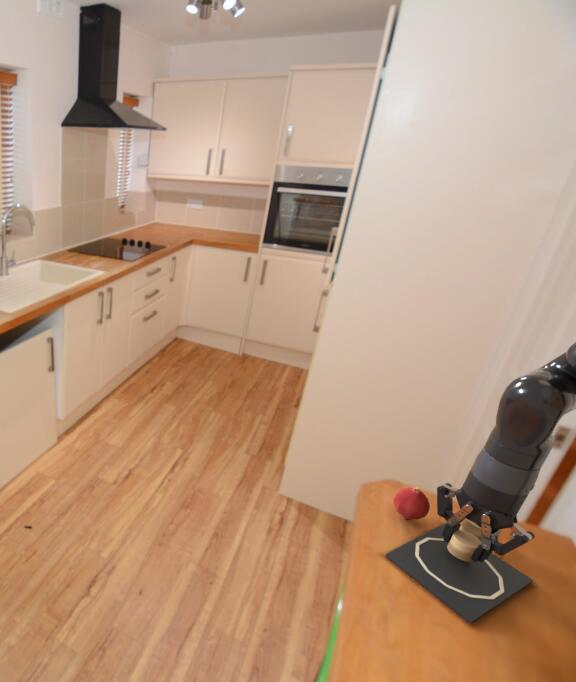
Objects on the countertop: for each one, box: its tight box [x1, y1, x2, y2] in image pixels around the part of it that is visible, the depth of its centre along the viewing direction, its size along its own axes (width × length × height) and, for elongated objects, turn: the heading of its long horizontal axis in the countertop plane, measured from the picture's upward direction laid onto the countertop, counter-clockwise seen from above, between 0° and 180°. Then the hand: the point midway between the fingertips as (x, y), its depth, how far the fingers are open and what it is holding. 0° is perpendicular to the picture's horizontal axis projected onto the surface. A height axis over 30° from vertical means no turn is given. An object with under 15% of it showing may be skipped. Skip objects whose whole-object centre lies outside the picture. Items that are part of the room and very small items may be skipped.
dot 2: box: [447, 530, 481, 562], centre depth 83 cm, size 4×4×4 cm
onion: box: [392, 487, 431, 521], centre depth 92 cm, size 6×6×8 cm
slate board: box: [385, 522, 534, 625], centre depth 82 cm, size 14×18×1 cm
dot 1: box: [459, 519, 482, 543], centre depth 89 cm, size 4×4×4 cm
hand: (462, 549), depth 83 cm, fingers closed on dot 2, 4 cm apart
